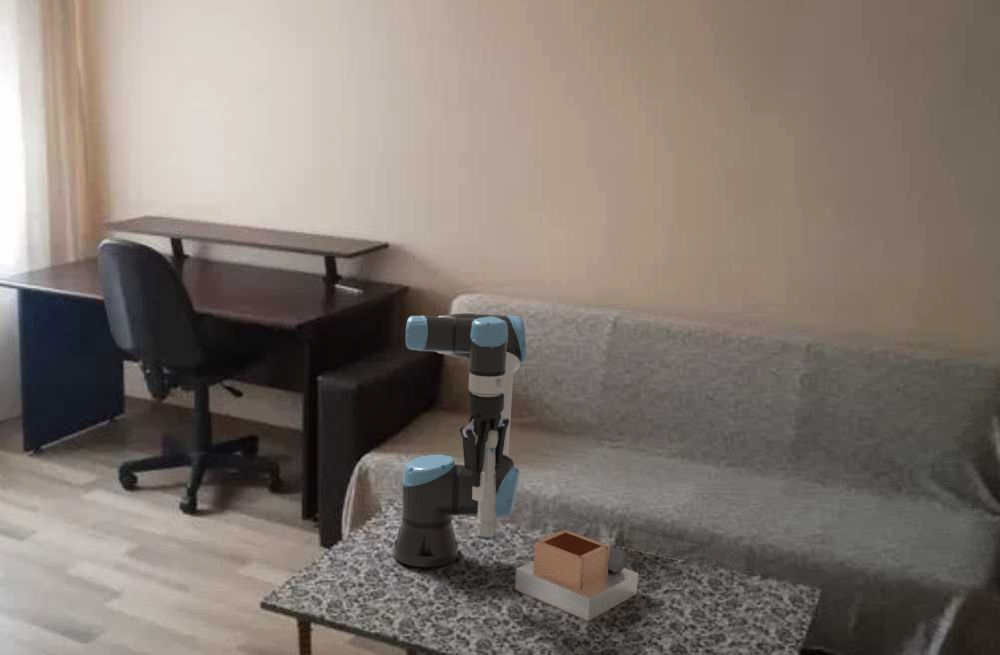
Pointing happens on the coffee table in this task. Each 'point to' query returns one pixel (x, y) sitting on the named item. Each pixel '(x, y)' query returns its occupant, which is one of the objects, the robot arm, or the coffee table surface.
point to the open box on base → (577, 575)
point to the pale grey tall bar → (488, 490)
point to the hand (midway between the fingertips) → (481, 498)
